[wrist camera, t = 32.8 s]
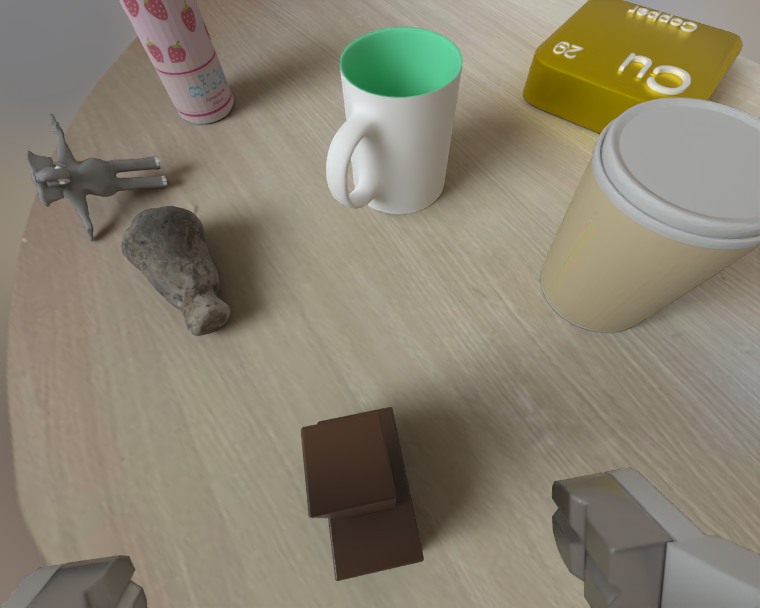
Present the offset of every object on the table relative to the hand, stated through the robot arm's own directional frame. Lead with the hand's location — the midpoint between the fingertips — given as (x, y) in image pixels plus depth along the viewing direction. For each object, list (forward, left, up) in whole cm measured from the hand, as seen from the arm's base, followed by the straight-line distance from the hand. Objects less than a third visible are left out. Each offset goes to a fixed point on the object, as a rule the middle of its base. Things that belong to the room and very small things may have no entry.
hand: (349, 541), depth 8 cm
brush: (0, -2, -16) cm, 17 cm away
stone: (+6, -21, -17) cm, 27 cm away
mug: (-11, -23, -17) cm, 30 cm away
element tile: (-38, -26, -17) cm, 49 cm away
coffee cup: (-21, -8, -17) cm, 28 cm away
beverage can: (+1, -42, -17) cm, 45 cm away
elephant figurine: (+11, -33, -17) cm, 39 cm away
